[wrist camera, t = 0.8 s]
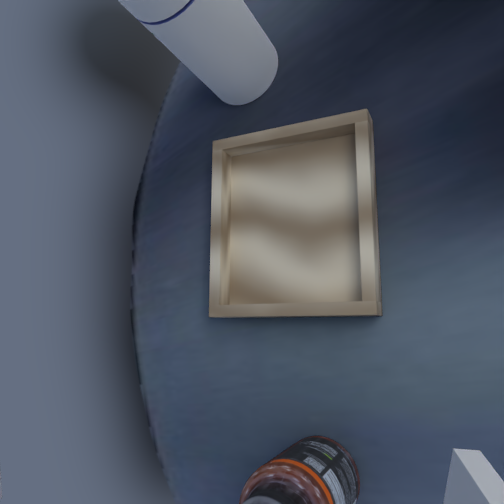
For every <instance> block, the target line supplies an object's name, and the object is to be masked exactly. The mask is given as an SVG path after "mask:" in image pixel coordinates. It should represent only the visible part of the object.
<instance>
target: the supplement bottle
mask: <svg viewBox="0 0 504 504" xmlns="http://www.w3.org/2000/svg"><path fill="white" fill-rule="evenodd" d="M359 490H360V480H359V474H358V470H357V467H356V464H355V462H354V460H353V458H352V457H351V455H350V454H349V453H348V451H346V450H345V449H344V448H343V447H342V446H341V445H340V444H339V443H337V442H336V441H334V440H331V439H329V438H327V437H323V436H311V437H307V438H304V439H302V440H300V441H298V442H297V443H295V444H293V445H292V446H290V447H289V448H287V449H286V450H285V451H283V452H282V453H280V454H279V455H277V456H276V457H274V458H273V459H272V460H270V461H269V462H267V463H266V464H264V465H263V466H261V467H260V468H259V469H257V470H256V471H255V472H254V473H253V474H252V475H251V476H250V478H249V479H248V480H247V482H246V484H245V486H244V488H243V490H242V493H241V496H240V501H239V504H355V503H356V501H357V499H358V495H359Z"/></svg>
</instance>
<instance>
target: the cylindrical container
mask: <svg viewBox="0 0 504 504" xmlns="http://www.w3.org/2000/svg"><path fill="white" fill-rule="evenodd" d="M118 1H119V2H120V3H121V4H122V5H123V6H124V7H125V8H126V9H127V10H128V11H129V12H130V13H131V14H132V15H133V16H135V17H136V19H138V20H139V21H140V22H141V23H142V24H143V25H144V26H145V27H146V28H147V29H148V30H149V31H150V32H151V33H152V34H153V35H154V36H155V37H156V38H157V39H158V40H160V41H161V43H163V44H164V45H165V46H166V47H167V48H168V49H169V50H170V51H171V52H172V53H173V54H174V55H175V56H176V57H177V58H178V59H179V60H180V61H181V62H182V63H183V64H184V65H186V66H187V67H188V68H189V69H190V70H191V71H192V72H193V73H194V74H195V75H196V76H197V77H198V78H199V79H200V80H201V81H202V82H203V83H204V84H205V85H206V86H207V87H208V88H210V89H211V90H212V91H213V92H214V93H215V94H216V95H217V96H218V97H219V98H220V99H221V100H222V101H224V102H225V103H227V104H231V105H243V104H247V103H249V102H252V101H254V100H255V99H257V98H259V97H260V96H261V95H262V94H263V93H264V92H265V91H266V90H267V89H268V88H269V87H270V85H271V83H272V82H273V80H274V78H275V75H276V73H277V68H278V55H277V52H276V50H275V47H274V46H273V44H272V43H271V41H270V40H269V38H268V37H267V35H266V34H265V32H264V31H263V29H262V28H261V26H260V25H259V23H258V22H257V20H256V19H255V17H254V16H253V14H252V13H251V12H250V10H249V9H248V7H247V6H246V4H245V3H244V1H243V0H118Z"/></svg>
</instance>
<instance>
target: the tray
mask: <svg viewBox="0 0 504 504" xmlns="http://www.w3.org/2000/svg"><path fill="white" fill-rule="evenodd" d="M343 316H382V296H381V276H380V256H379V236H378V216H377V196H376V176H375V155H374V135H373V121H372V119H371V116H370V114H369V112H368V109H363V110H358V111H353V112H348V113H344V114H339V115H334V116H330V117H325V118H320V119H315V120H311V121H306V122H301V123H297V124H292V125H287V126H282V127H278V128H273V129H268V130H264V131H259V132H254V133H249V134H245V135H240V136H235V137H231V138H226V139H221V140H216V141H213V154H212V199H211V245H210V290H209V317H217V318H256V317H343Z"/></svg>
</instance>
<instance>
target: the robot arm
mask: <svg viewBox="0 0 504 504" xmlns="http://www.w3.org/2000/svg"><path fill="white" fill-rule="evenodd" d="M1 499H2V489H1V473H0V500H1ZM443 504H504V482H503V480H502V479H501V478H500V476H499V475H498V474H497V472H496V471H495V470H494V468H493V467H492V466H491V464H490V463H489V462H488V460H487V459H486V458H485V456H484V455H483V454H482V453H481V451H480V450H466V449H453V452H452V457H451V463H450V469H449V474H448V480H447V486H446V491H445V497H444V502H443Z"/></svg>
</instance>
